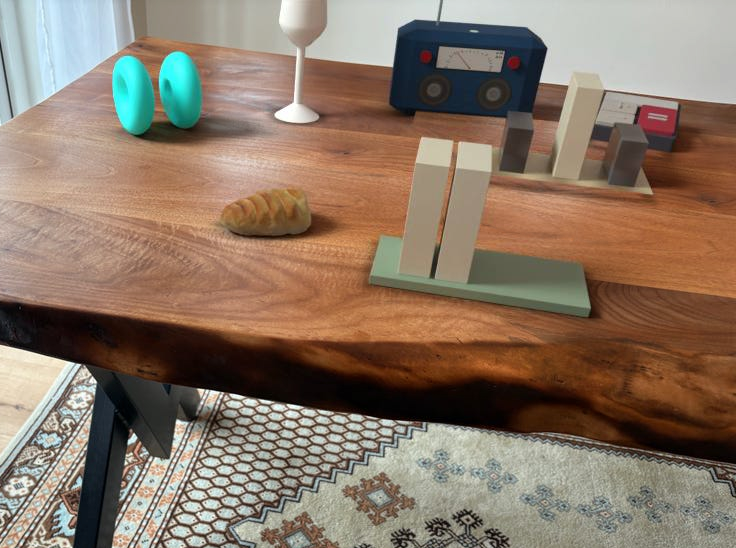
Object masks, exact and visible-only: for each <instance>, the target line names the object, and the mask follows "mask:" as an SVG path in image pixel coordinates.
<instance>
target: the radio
mask: <svg viewBox="0 0 736 548" xmlns="http://www.w3.org/2000/svg"><path fill="white" fill-rule="evenodd" d="M443 4H444V0H439V6H438V12H437V17H436V20H429V19H413V20H411V21H409V22H407V23H405V24H403V25H401V26H400V27H397V34H396V41H395V48H394V56H393V63H392V71H391V78H390V84H389V92H388V93H389V99H388V102H389V106H391V107H392V108H393V109H395V110H396V111H397V112H399V113H400V114H401V115H403V116H413V117H415V116H416V113H417V112H425V113H436V114H439V113H440V114H449V115H450V114H452V115H461V116H462V115H464V116H475V117H476V116H477V117H479V116H480V117H489V118H500V119H506V117H507V112H508V111H516V112H526V113H532V114H533V112H534V111H533V110H534V107H535V103H536V98H537V95H538V90H539V87H540V82H541V77H542V74H543V70H544V66H545V61H546V57H547V54H548V49H549V48H548V46H547V45H546V44H545V42H544V40H543V39H542V38H541V37H540V36H539V35H537V34H536V33H535V32H534V31H532V30H531V29H530V28H529V27H527V26H516V25H501V24H486V23H474V22H473V23H472V22H460V21H459V22H457V21H444V20H441V16H442V10H443Z"/></svg>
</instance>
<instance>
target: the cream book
mask: <svg viewBox="0 0 736 548" xmlns="http://www.w3.org/2000/svg"><path fill="white" fill-rule="evenodd" d="M603 93H605V88H604V85H603V82H602V80H601V78H600V76H599V73H592V72H583V71H582V72H581V71H572V72H571V76H570V80H569V84H568V86H567V91H566V96H565V99H564V102H563V106H562V109H561V114H560V117H559V122H558V125H557V128H556V132H555V136H554V140H553V144H552V148H551V152H550V154H549V155H550V162H551V168H552V174H553V177H554V178H563V179H571V180H578V179H579V175H580V172H581V169H582V165H583V162H584V159H586V154H587V151H588V147H589V144H590V141H591V139H590V138H591V134H592V131H593V127H594V124H595V120H596V117H597V114H598V110H599V107H600V103H601V100H602V96H603Z"/></svg>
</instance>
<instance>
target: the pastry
mask: <svg viewBox="0 0 736 548" xmlns="http://www.w3.org/2000/svg"><path fill="white" fill-rule="evenodd" d="M220 223H221V225H222V226H223V227H224V228H226V229H227V230H229V231H231V232H234V233H236V234H238V235H240V236H242V235H245V236H248V237H251V236H260V237H263V236H271V237H276V236H285V235H287V234H291V235H298V234H299V235H300V234H301V233H304V232H306V231H308V228H309V227H310V226H311V225H312V216H311V210H310V207H309V205H308V199H307V196H306V194H305V192H304V191H303V189H301V188H300V187H294V186H292V185H290V186H289V187H288V188H286V189H282V188H271V189H263V188H262V189H260V190H258V191H256V192H255V193H254V194H251V195H249V196H246V197H241V198H239V199H237V200H235V201H234V202H231V203H229V204H227V205H225V206H224V208H223V209H222V212H221V215H220Z"/></svg>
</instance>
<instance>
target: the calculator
mask: <svg viewBox="0 0 736 548" xmlns="http://www.w3.org/2000/svg"><path fill="white" fill-rule="evenodd" d="M681 108H682V104H680V103H679V102H678V101H673V100H666V99H660V98H653V97H646V96H639V95H634V94H626V93H621V92H620V93H619V92H613V91H606V92H604V93H603V96H602V100H601V103H600V107H599V110H598V114H597V117H596V120H595V124H594V127H593V131H592V134H591V138H590V140H593V141H599V142H606V143H609V139H610V136H611V133H612V130H613V126H614V123H615V122H618V123H627V124H636V125H640V126H641V128H642V130H643V132H644V134H645V136H646V138H647V140H648V142H649V145H648V148H647V150H651V151H656V152H657V151H658V152H664V153H670V154H671V153H672V152H673V149H674V147H675V144H676V141H677V138H678V131H679V123H680V116H681Z"/></svg>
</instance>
